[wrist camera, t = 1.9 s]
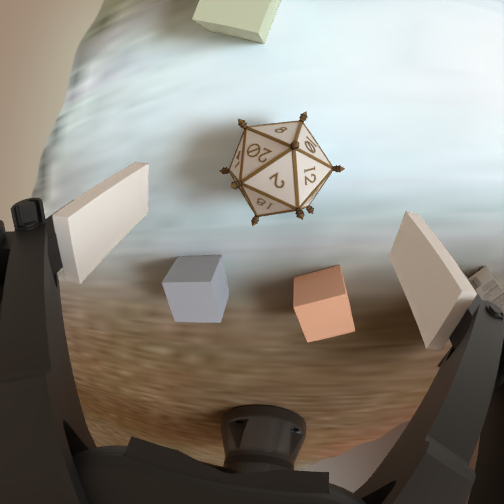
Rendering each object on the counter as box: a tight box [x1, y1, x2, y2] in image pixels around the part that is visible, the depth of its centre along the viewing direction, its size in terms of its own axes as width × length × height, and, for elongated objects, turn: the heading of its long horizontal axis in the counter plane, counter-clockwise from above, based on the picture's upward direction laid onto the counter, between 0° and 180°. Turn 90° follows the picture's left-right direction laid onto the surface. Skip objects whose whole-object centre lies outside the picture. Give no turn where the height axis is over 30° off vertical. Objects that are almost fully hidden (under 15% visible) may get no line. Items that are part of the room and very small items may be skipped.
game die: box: [220, 112, 345, 226], centre depth 23 cm, size 9×8×10 cm
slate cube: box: [162, 255, 229, 323], centre depth 31 cm, size 5×5×5 cm
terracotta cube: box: [293, 265, 355, 342], centre depth 30 cm, size 5×5×5 cm
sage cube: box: [192, 0, 281, 44], centre depth 18 cm, size 5×5×5 cm
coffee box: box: [468, 266, 504, 313], centre depth 24 cm, size 9×6×16 cm
